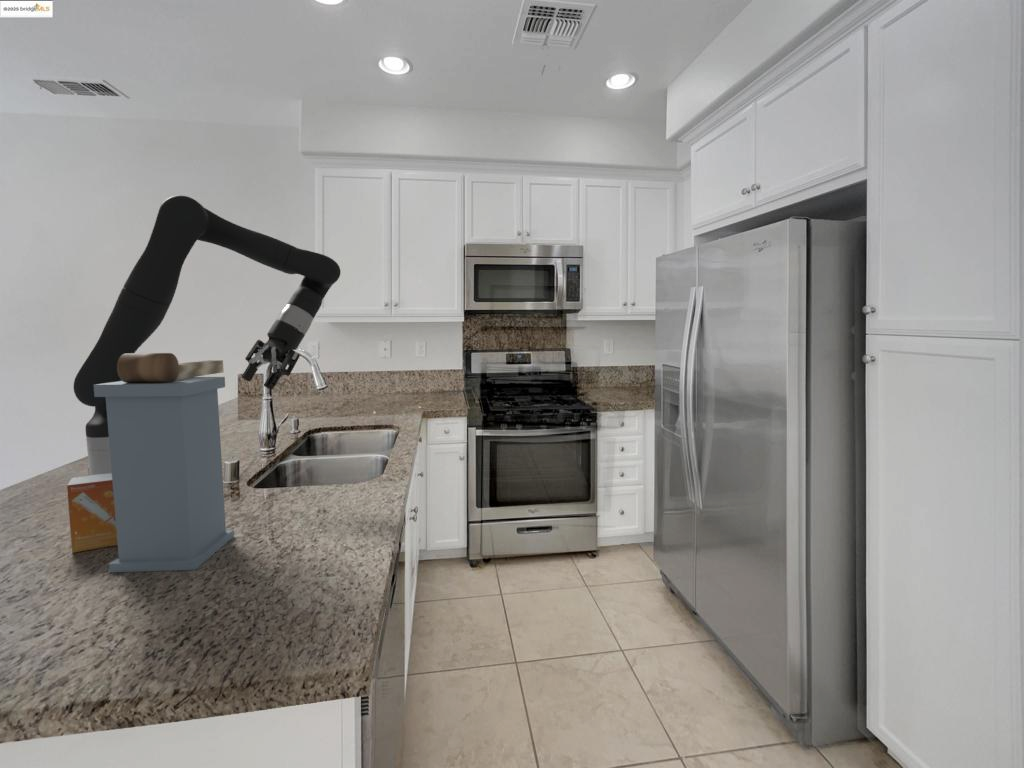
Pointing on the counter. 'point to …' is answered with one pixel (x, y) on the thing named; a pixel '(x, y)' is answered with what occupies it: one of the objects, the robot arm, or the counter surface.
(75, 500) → the small box
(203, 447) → the stand
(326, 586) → the counter surface
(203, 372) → the mallet
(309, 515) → the counter surface
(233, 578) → the counter surface
